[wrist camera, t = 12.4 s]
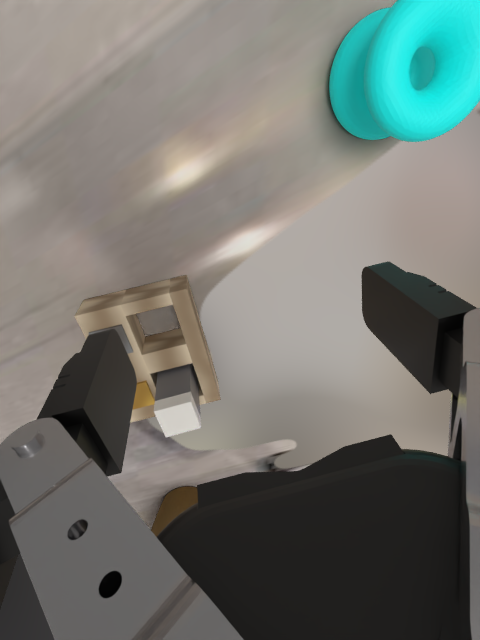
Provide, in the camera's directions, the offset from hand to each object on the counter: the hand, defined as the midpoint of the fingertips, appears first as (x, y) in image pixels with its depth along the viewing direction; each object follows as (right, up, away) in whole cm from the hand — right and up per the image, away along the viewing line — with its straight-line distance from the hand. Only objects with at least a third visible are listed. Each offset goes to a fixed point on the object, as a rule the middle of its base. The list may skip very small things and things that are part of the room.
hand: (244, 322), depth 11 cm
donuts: (+13, +23, +22) cm, 35 cm away
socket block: (-11, -3, +32) cm, 34 cm away
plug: (-8, -6, +34) cm, 36 cm away
